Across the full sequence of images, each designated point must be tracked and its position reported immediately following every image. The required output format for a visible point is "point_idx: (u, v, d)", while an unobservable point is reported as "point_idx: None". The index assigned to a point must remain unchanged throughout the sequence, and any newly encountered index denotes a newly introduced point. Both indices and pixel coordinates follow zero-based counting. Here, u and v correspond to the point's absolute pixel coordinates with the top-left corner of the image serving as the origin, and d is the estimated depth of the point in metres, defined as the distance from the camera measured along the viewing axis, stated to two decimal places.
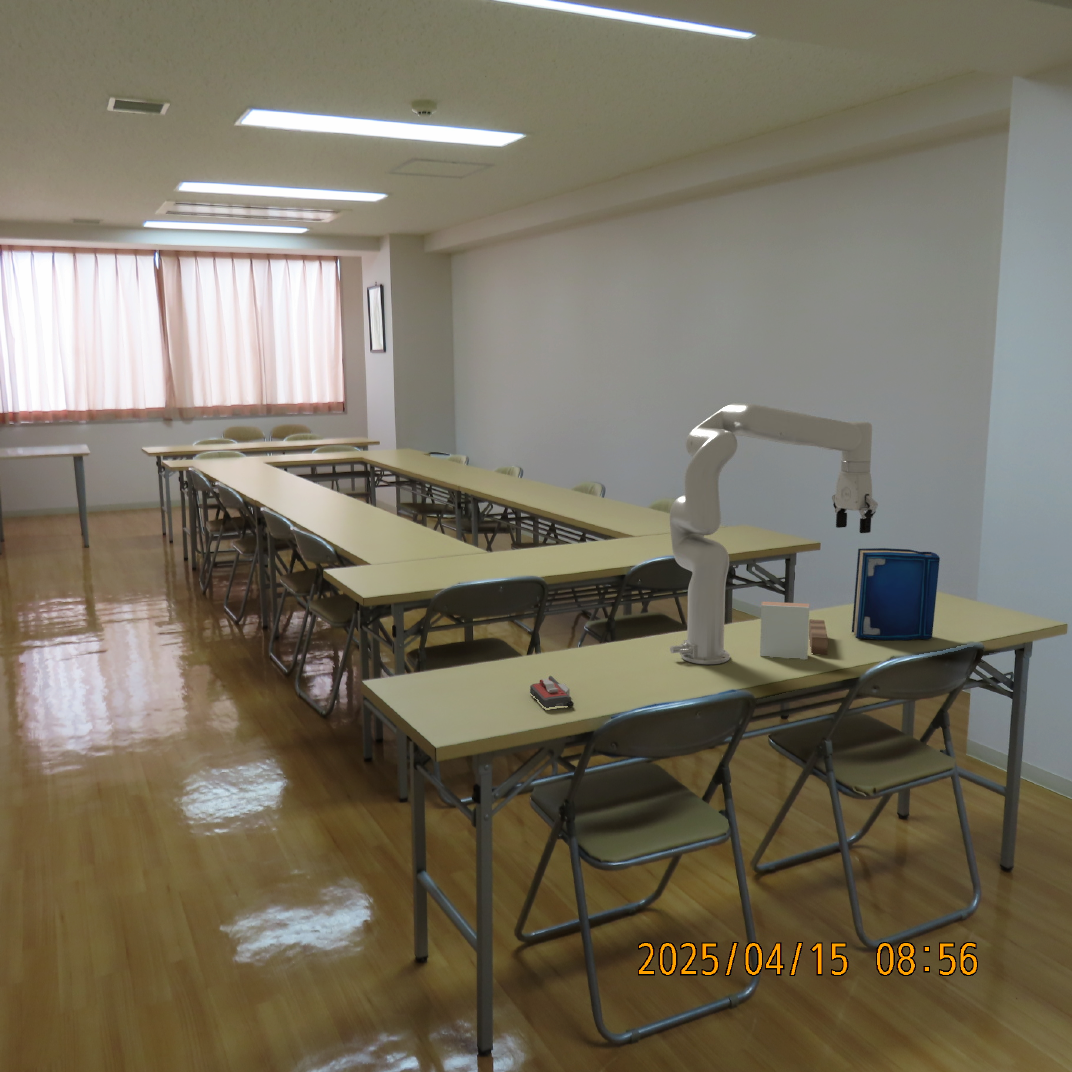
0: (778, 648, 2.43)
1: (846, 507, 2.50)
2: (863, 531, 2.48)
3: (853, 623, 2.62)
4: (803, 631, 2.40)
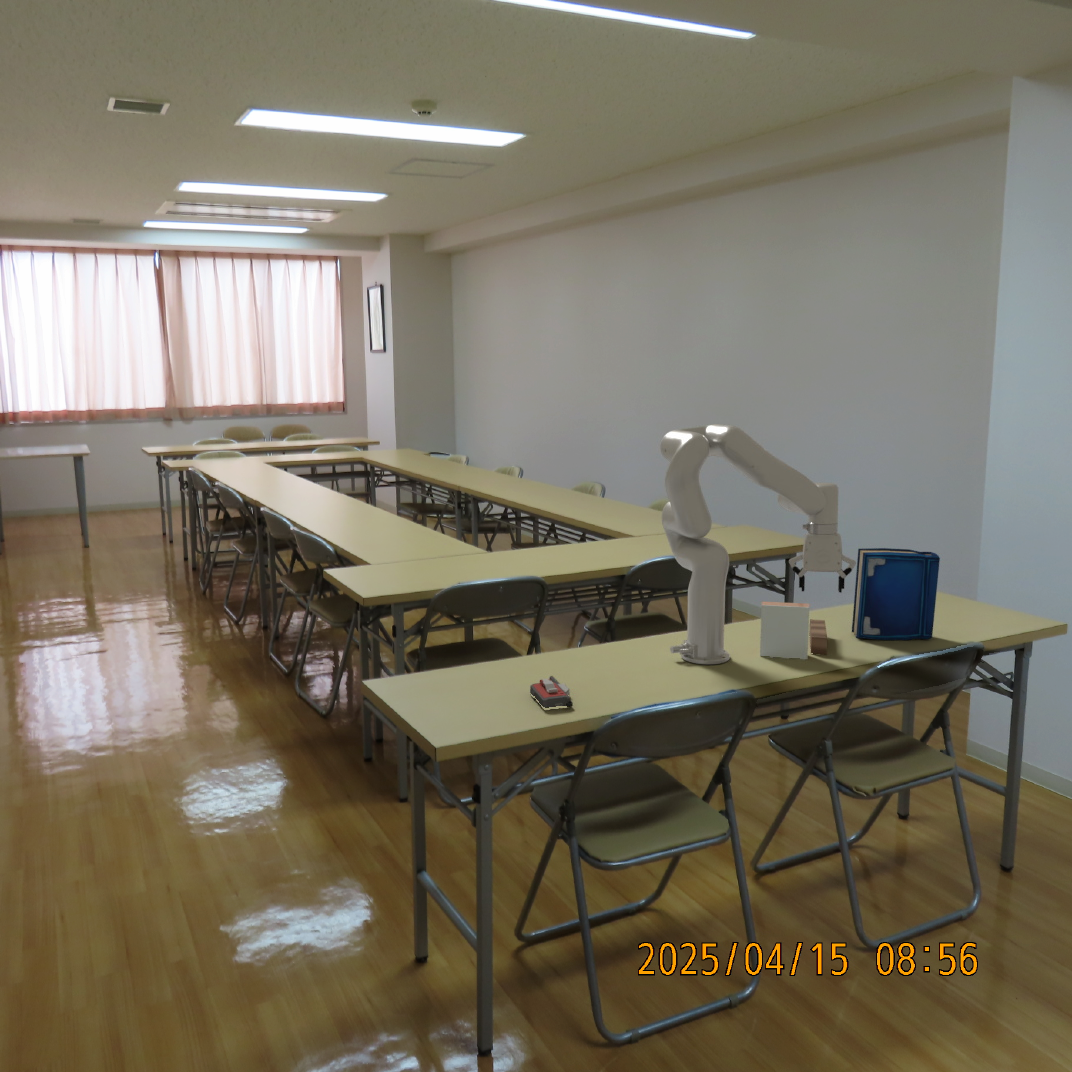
0: (778, 648, 2.43)
1: (823, 569, 2.47)
2: None
3: (853, 623, 2.62)
4: (803, 631, 2.40)
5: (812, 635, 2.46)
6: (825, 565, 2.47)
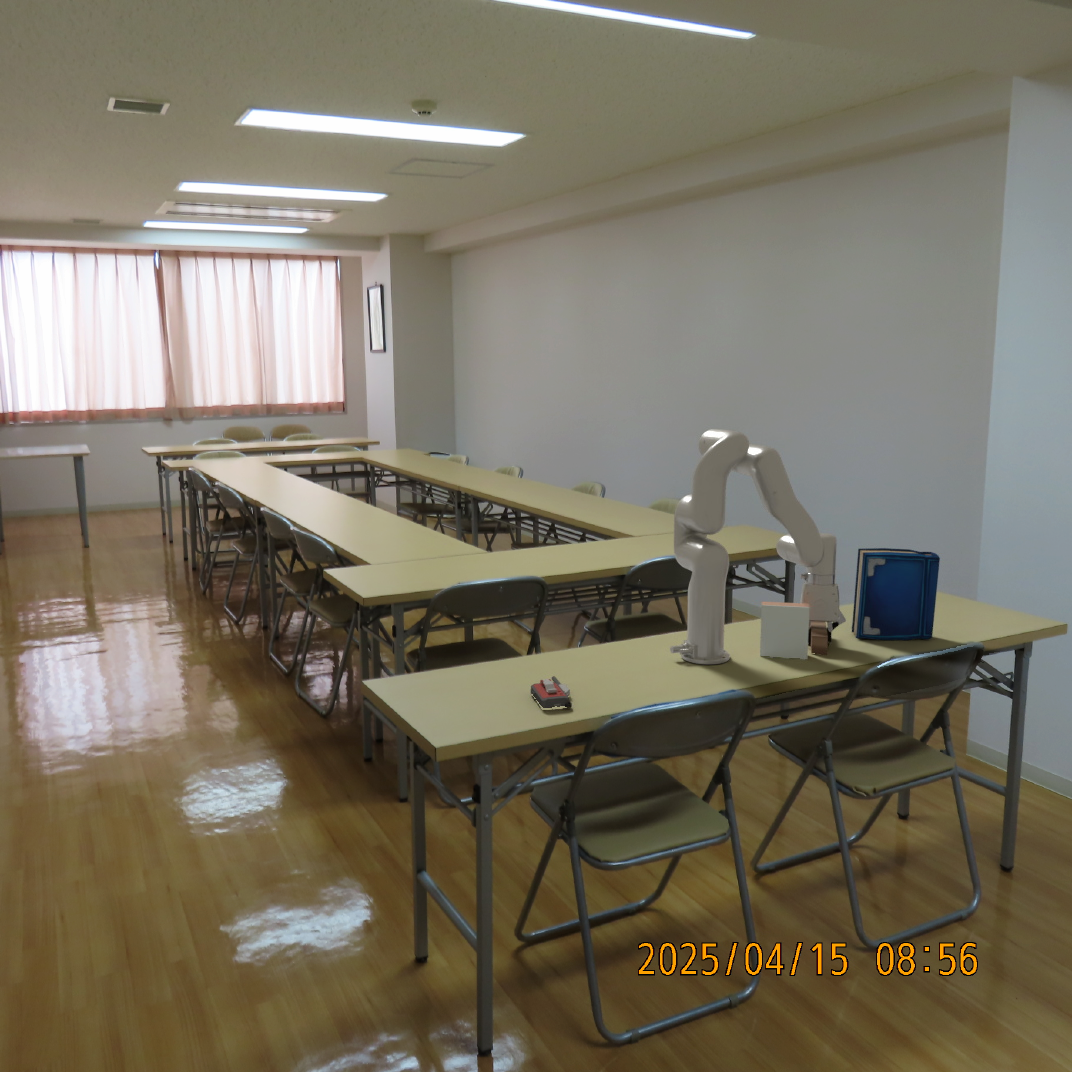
0: (778, 648, 2.43)
1: (821, 619, 2.50)
2: (828, 643, 2.52)
3: (853, 623, 2.62)
4: (803, 631, 2.40)
5: (812, 634, 2.46)
6: (822, 615, 2.49)
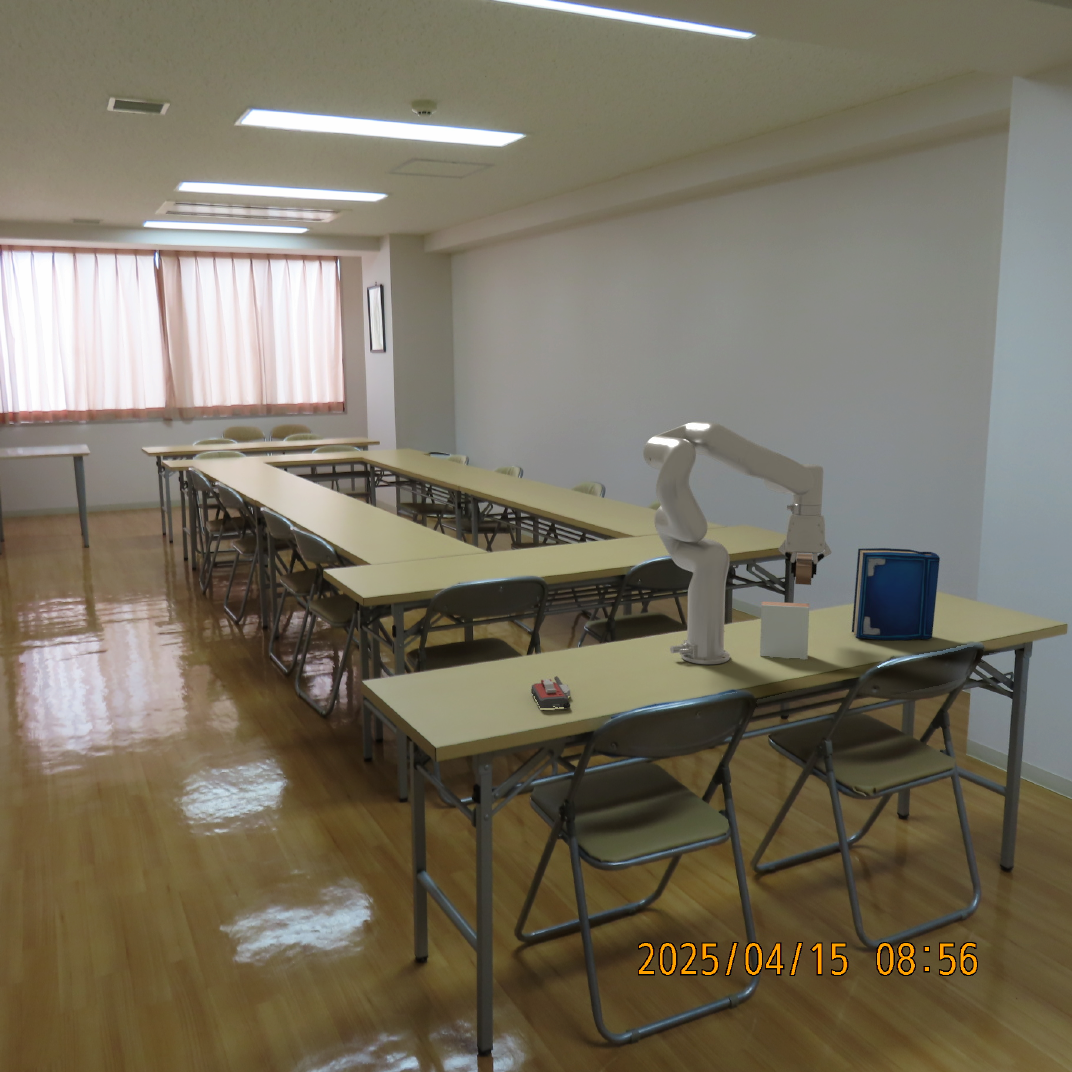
0: (778, 648, 2.43)
1: (806, 551, 2.49)
2: None
3: (853, 623, 2.62)
4: (803, 631, 2.40)
5: (797, 564, 2.45)
6: (808, 546, 2.48)
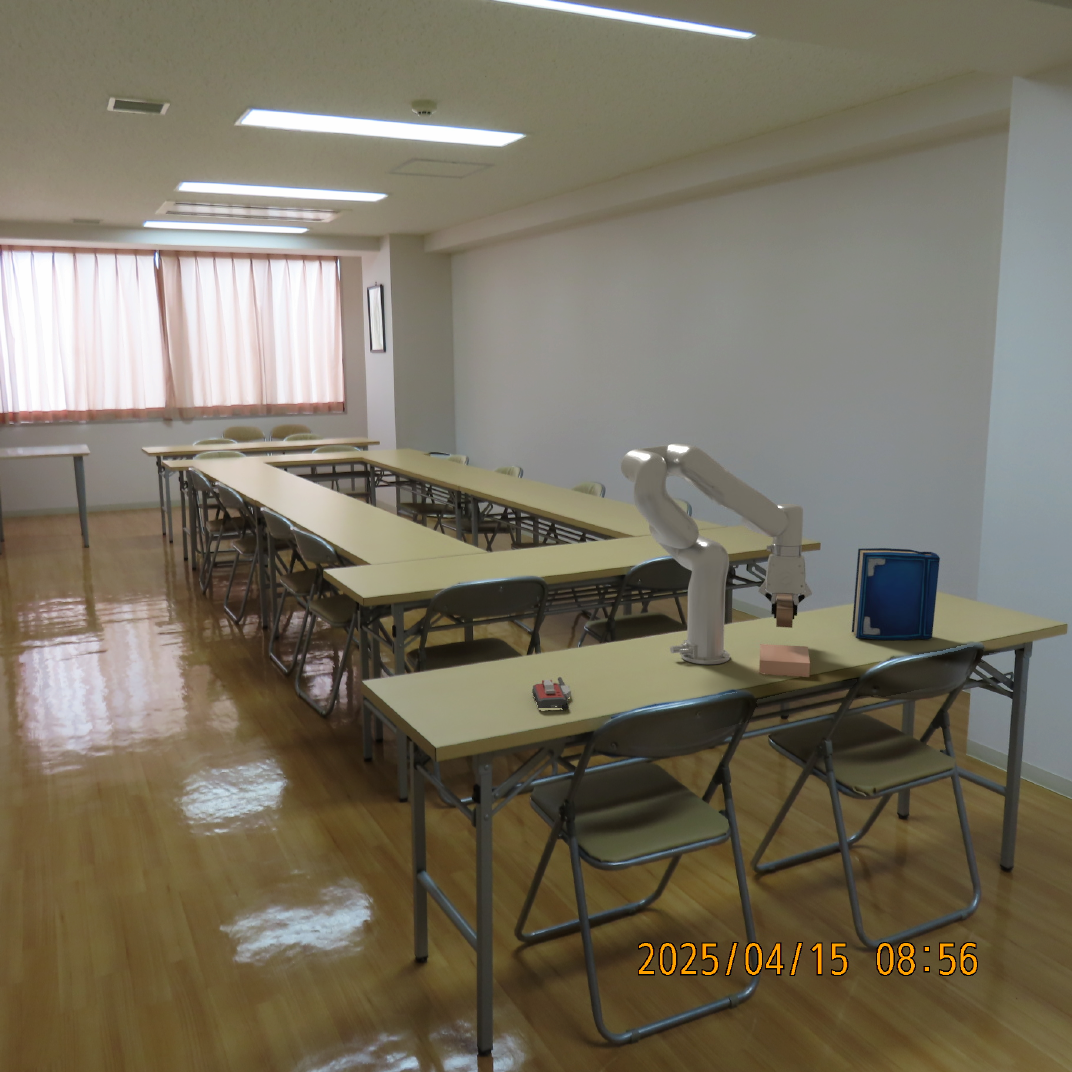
0: None
1: (786, 592, 2.44)
2: None
3: (853, 623, 2.62)
4: None
5: (778, 606, 2.41)
6: (788, 587, 2.44)
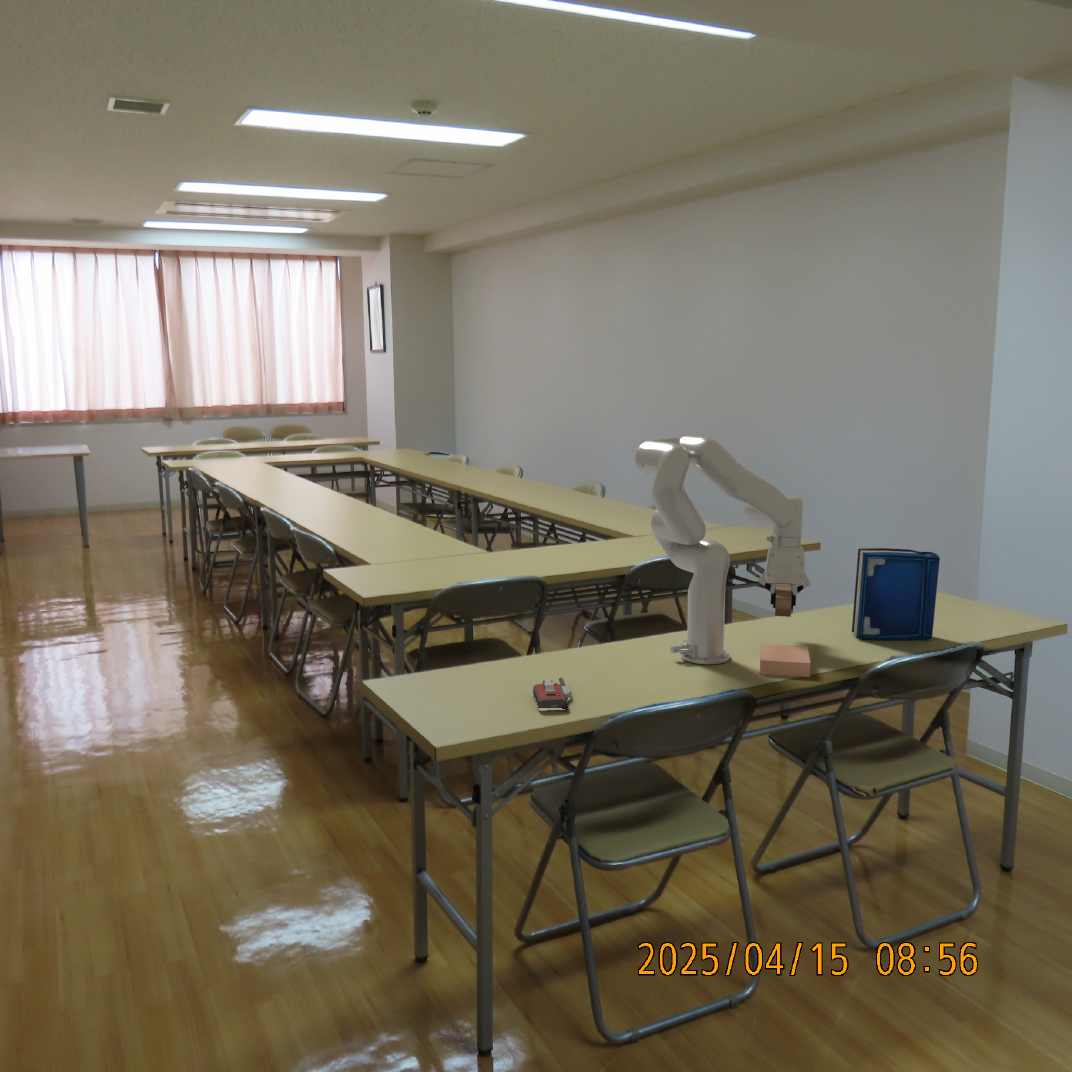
0: None
1: (785, 582, 2.49)
2: (792, 607, 2.52)
3: (853, 623, 2.62)
4: None
5: (777, 596, 2.46)
6: (787, 578, 2.49)
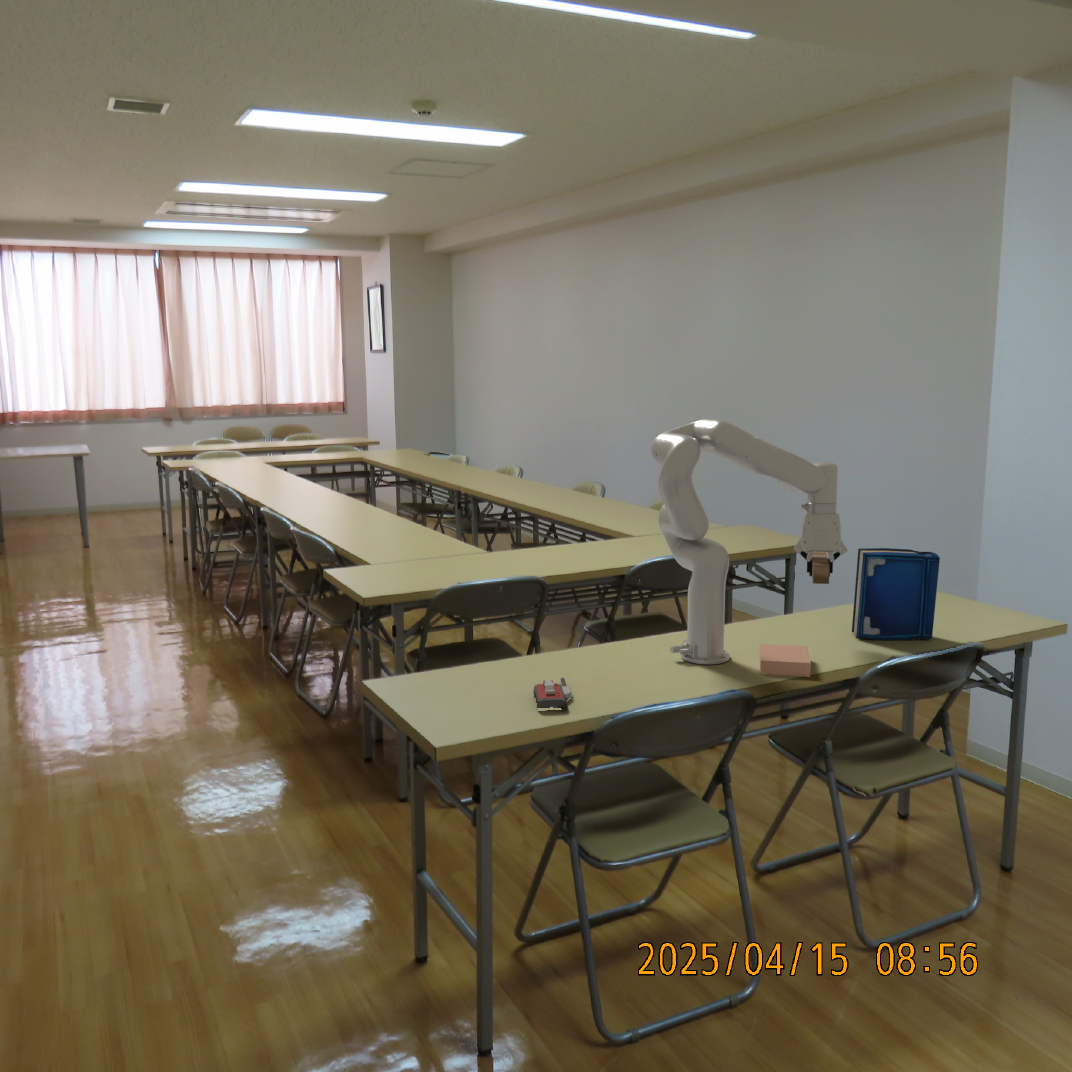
0: None
1: (822, 549, 2.46)
2: (829, 574, 2.49)
3: (853, 623, 2.62)
4: None
5: (814, 563, 2.43)
6: (824, 545, 2.46)
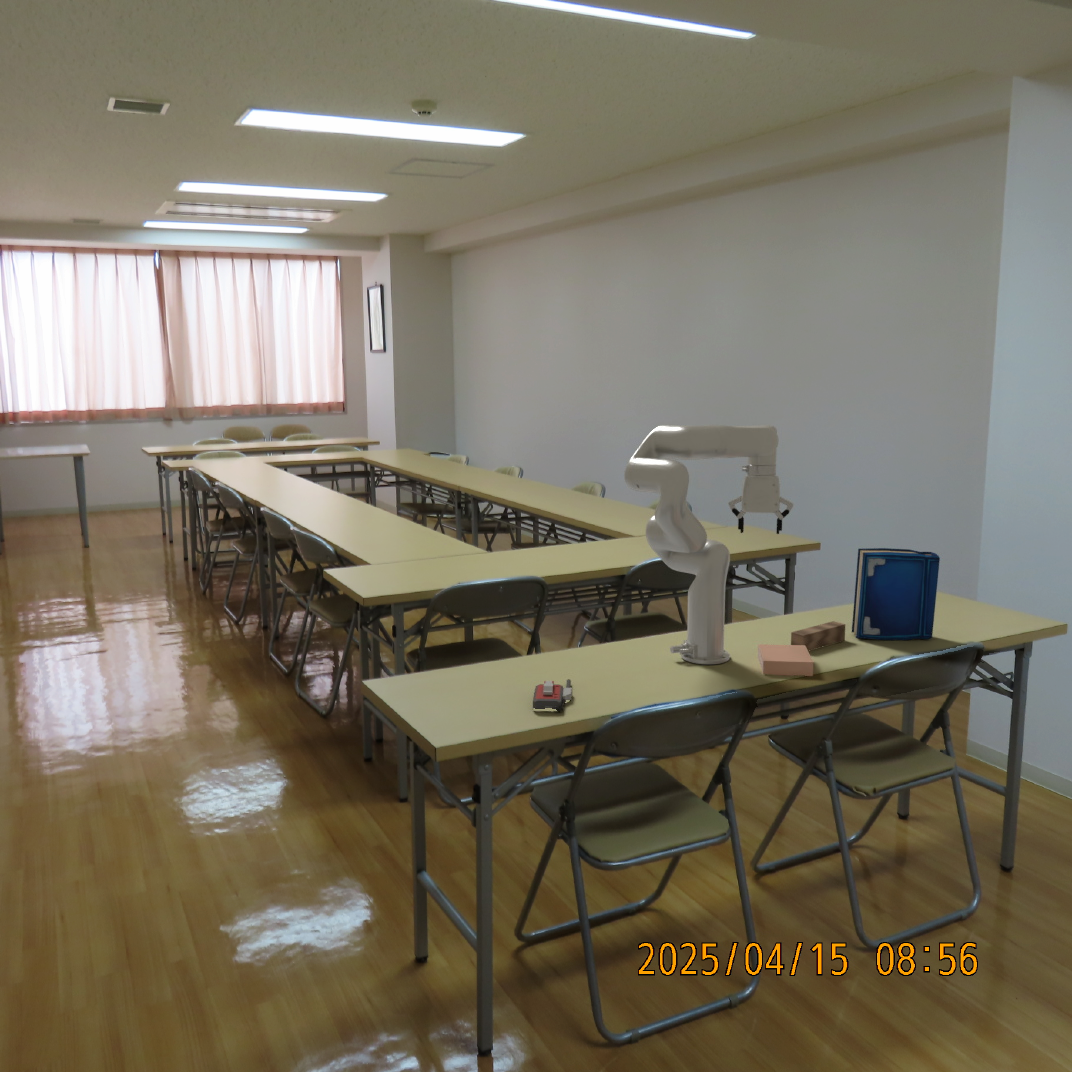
0: None
1: (761, 511, 2.51)
2: None
3: (853, 623, 2.62)
4: None
5: (795, 631, 2.50)
6: (763, 506, 2.51)
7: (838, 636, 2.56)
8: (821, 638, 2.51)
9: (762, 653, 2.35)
